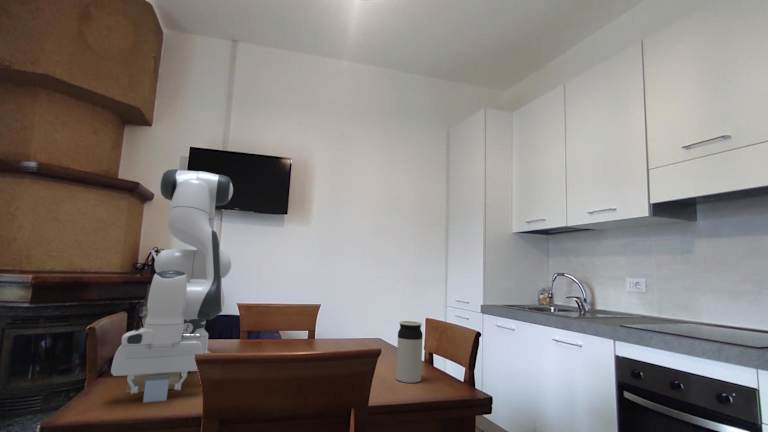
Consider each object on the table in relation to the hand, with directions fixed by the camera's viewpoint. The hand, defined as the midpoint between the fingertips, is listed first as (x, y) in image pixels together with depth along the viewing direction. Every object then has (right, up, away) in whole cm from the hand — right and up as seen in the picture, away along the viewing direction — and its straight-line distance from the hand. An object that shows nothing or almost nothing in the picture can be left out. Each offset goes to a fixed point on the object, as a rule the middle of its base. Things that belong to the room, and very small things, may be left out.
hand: (156, 391), depth 98 cm
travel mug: (+65, -9, +27) cm, 71 cm away
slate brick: (0, -2, 0) cm, 2 cm away
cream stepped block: (-7, -3, +11) cm, 13 cm away
